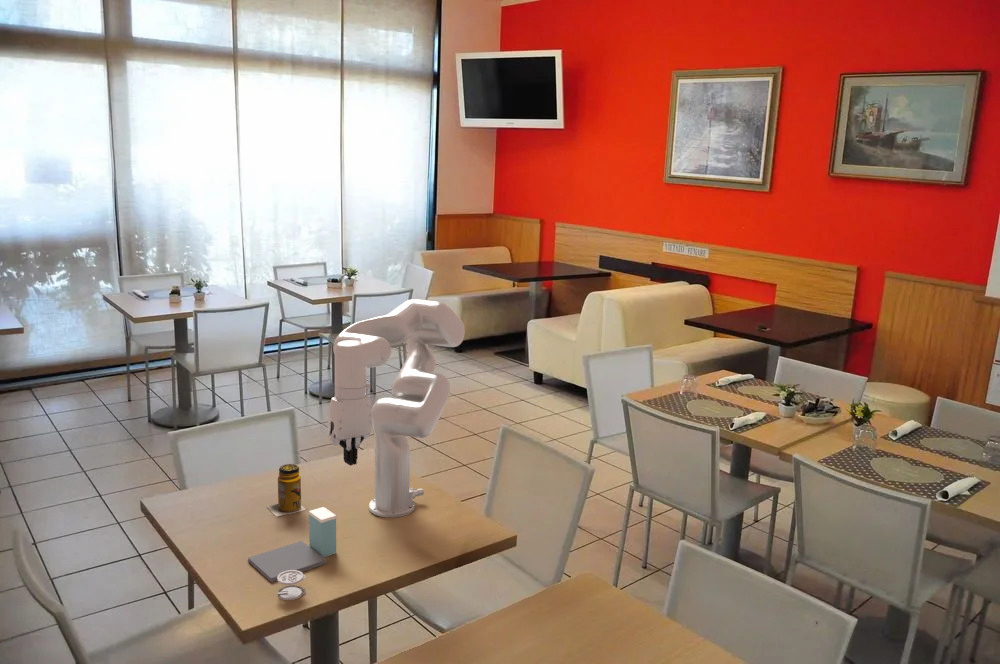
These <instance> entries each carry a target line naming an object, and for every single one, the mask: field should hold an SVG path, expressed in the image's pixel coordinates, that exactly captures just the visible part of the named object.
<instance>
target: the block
mask: <svg viewBox="0 0 1000 664" xmlns="http://www.w3.org/2000/svg"><path fill="white" fill-rule="evenodd" d="M308 522H309V523H308V524H309V527H308V528H309V529H308V530H309V531H308V534H309V535H308V536H309V537H308V540H309V547H310V548H312V549H313V550H314V551H316V552H317V553H318V554H319V555H321V556H322V557H323V558H327V557H329V556H332V554H333V555H335V553H336V554H337V515H336V514H335V513H333V512H332V511H330V510H329V509H327V508H326V507H324V506H322V507H318V508H315V509H312V510H309V511H308Z"/></svg>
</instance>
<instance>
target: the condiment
mask: <svg viewBox="0 0 1000 664" xmlns="http://www.w3.org/2000/svg"><path fill="white" fill-rule="evenodd" d="M299 467H300V466H298V465H297V464H294V463H287V464H283V465H281V466H280V467H279V469H278V477H277V497H278V498H277V501H278V503H275V504H271V505H267V506H266V507H267V509H268V510H269V511H270V512H271V514H273V515H274V516H275V517H276V518H277V517H278V518H279V517H280V516H284V515H285V516H286V515H288V514H289V515H291V514H296V513H298V512H299V513H300V512H302V511H303V512H304V511H306V510H307V508H305V507H304V506H303V505H302V483H301V482H302V481H301V478H302V477H301V475H300V468H299Z"/></svg>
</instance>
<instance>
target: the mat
mask: <svg viewBox="0 0 1000 664" xmlns="http://www.w3.org/2000/svg"><path fill="white" fill-rule="evenodd" d="M247 562H248V563H249V564H250V565H251V566H253V567H254V568H255V569H256V570H257V571H258V572H259V573H260V574H261V575H262V576H264V577H265V578H266V579H267V580H268V581H269V582H270V583H273V582H276V581H277V577H278V575H279V574H280V573H282V572H284V571H288V570H297V571H300V572H302V573H303V572H305V571H309V570H311V569H314V568H317V567H318V568H319V567H321V566H323V565H326V564H327V559H326V557H324V558H323V557H322V556H321V555H319V554H318V553H317V552H316V551H314V550H313V549H312V548H310V545H308V544H307V543H306V542H304V541H303V540H299V541H297V542H293V543H289V544H287V545H284V546H280V547H277V548H274V549H272V550H268V551H265V552H261V553H259V554H255V555H252V556H250V557H248V558H247ZM277 582H278V581H277Z"/></svg>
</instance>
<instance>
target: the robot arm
mask: <svg viewBox="0 0 1000 664" xmlns="http://www.w3.org/2000/svg"><path fill="white" fill-rule="evenodd" d="M465 328H466V327H465V324H464V322H463V321H462V319H461V318H460V316H459V315H458V314H457V313H456V312H455V311H454V310H453V309H452V307H450V306H449V305H447V304H446V303H444V302H442V301H436V300H429V299H428V300H427V299H419V298H411V299H408V300H405V301H404V302H402V303H401V304H400V305H398V306H396V307H395V308H394V309H392V310H391V311H390V312H388V313H387V314H385V315H381V316H376V317H373V318H369V319H364V320H361V321H357V322H354V323H353V324H351V325H349V326H348V327H346V328H344V329H343V330H342V331H341V332H339V334H338V335H337V336H336V338H335V339H334V342H333V346H332V350H333V354H334V397H331V399H330V403H329V408H328V414H327V415H328V417H327V435H328V436H330V440H329V443H330V444H331V445H332V446H333V445H334V446H340V447H341V448H343V462H344V463H345V464H347V465H348V466H350V467H351V466H353V465H354V466H355V465H357V464H358V449H359V448H360V446H361V444H362V442H363V441H364V440H366V439H368V438H370V437H371V431H372V430H373V436H374V498H373V499H371V500H370V502H369V503H368V510H369V511H370V513H372V514H373V515H375V516H378V517H383V518H400V517H405V516H407V515H410V514H411V513H412V512H413V511H414V510H415V509H416V503H415V501H414V499H415V498H417V497H421V496H423V495H424V494H425V493H424V492H425V491H424V488H418V489H415V487H410V485H411V484H410V477H411V475H410V474H411V473H410V472H411V471H410V470H411V469H410V467H411V463H410V461H411V448H410V443H409V440H408V438H407V437H410V438H416V439H425V438H428V437H429V436H430V435H431V434H432V432H433V431H434V430H435V427H436V425H437V423H438V421H439V419H440V417H441V415H442V413H443V411H444V409H445V407H446V404H447V403H448V400H449V396H450V391H451V390H450V388H451V387H450V381H449V379H448V378H447V377H446V375H444V374H441V373H437V372H434V371H435V369H436V359H435V357H434V355H433V353H432V352H431V349H430V348H429V345H432V346H438V347H446V348H447V347H448V348H455V347H459V346H460V345H461V344H462V343H463V341H464V339H465V333H466V332H465V331H466V329H465ZM406 341H407V342H406ZM405 342H406V343H407V357H406V359H405V361H404V363H403V364H402V366H401V368H400V370H399V372H398V373H397V375H396V376H395V377H396V378H395V379H394V381H393V383H392V386H391V394H392V396H393V397H389V396H388V397H387V396H386V397H381V398H379V399H378V400H376V401H375V402H374V404H373V406H372V407H371V402H370V399H369V395H368V390H370V389H371V385H370V384H369V383H367V369H370V368H377V367H380V366H383V365H384V364H386V363H387V362H388V360H389V359H390V358H391V356H392V346H394V345H395V346H396V345H400V344H403V343H405Z"/></svg>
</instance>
